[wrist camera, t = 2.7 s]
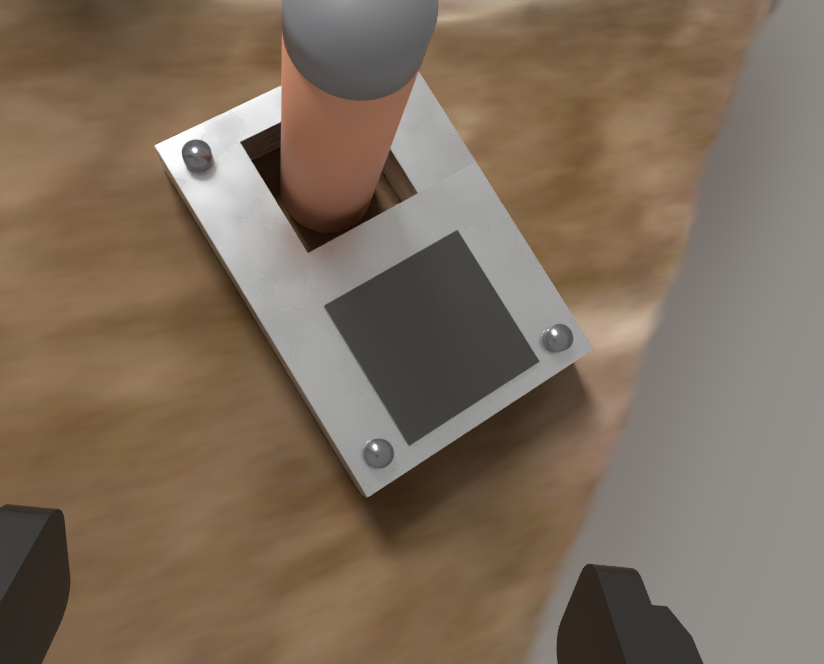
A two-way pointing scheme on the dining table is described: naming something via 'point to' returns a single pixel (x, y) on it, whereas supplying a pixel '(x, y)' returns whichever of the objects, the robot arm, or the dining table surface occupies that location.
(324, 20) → the plug
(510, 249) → the plate
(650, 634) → the robot arm
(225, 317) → the dining table surface
